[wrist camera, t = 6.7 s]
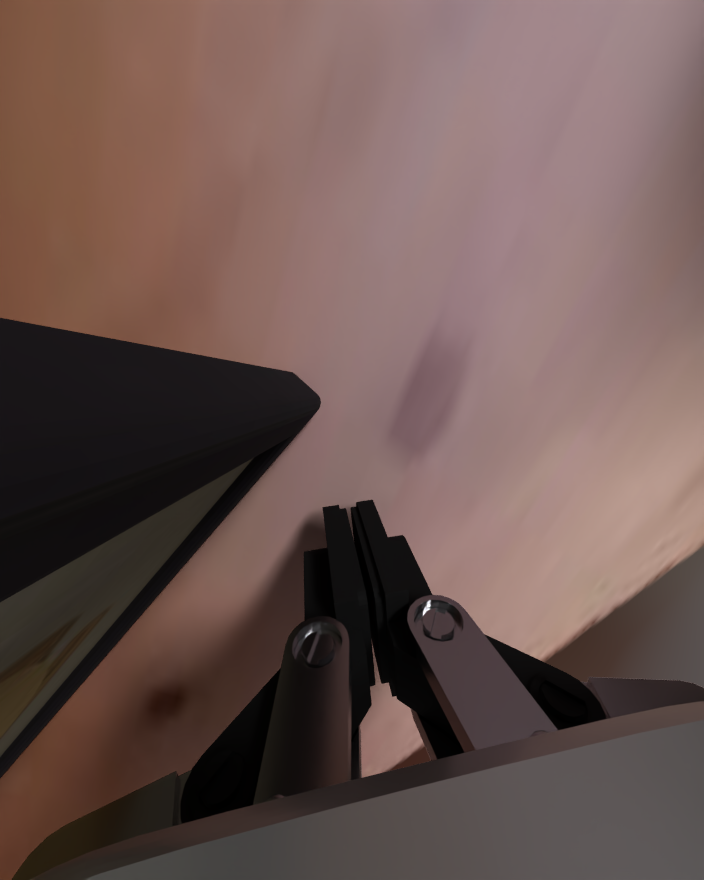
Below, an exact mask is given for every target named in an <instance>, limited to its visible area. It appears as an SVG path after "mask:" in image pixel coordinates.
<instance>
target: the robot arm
mask: <svg viewBox="0 0 704 880" xmlns="http://www.w3.org/2000/svg"><path fill="white" fill-rule="evenodd" d="M323 514H324V523H325V531H326V540H327V548H323V549H317V550H311V551H305V552H304V605H305V621H303V622H302V623H300V624H299V625H298V626H297V627H296V628H295V629H294V630H293V631H292V633H291V634H290V635H289V637H288V640H287V643H286V646H285V651H284V656H283V660H282V665H281V668H280V669H279V671H278V672H277V673H276V674H275V675H274V676H273V677H272V678H271V679H270V680H269V682H268V683H267V684H266V685H265V686H264V687H263V688H262V689H261V690H260V692H259V693H258V694H257V695H256V696H255V697H254V698H253V699H252V700H251V702H250V703H249V704H248V705H247V706H246V707H245V708H244V709H243V710H242V712H241V713H240V714H239V715H238V716H237V717H236V718H235V719H234V720H233V722H232V723H231V724H230V725H229V726H228V727H227V728H226V729H225V730H224V732H223V733H222V734H221V735H220V736H219V737H218V738H217V739H216V740H215V742H214V743H213V744H212V745H211V746H210V747H209V748H208V749H207V750H206V752H205V753H204V754H203V755H202V756H201V758H200V759H199V760H198V762H197V763H196V764H195V766H194V767H193V768H192V770H190V771H188V772H186V773H184V774H182V775H180V776H178V774H177V772H176V771H175V772H173V773H171V774H169V775H167V776H165V777H163V778H161V779H159V780H157V781H155V782H153V783H151V784H149V785H147V786H145V787H143V788H141V789H138V790H136V791H134V792H132V793H130V794H128V795H126V796H124V797H122V798H120V799H118V800H116V801H114V802H112V803H110V804H108V805H106V806H104V807H102V808H100V809H98V810H96V811H93V812H91V813H89V814H87V815H85V816H83V817H81V818H79V819H77V820H75V821H73V822H71V823H69V824H67V825H65V826H63V827H62V828H60V829H59V830H57V831H56V832H54V833H53V834H51V835H50V836H48V837H47V838H46V839H45V840H44V841H43V842H42V843H41V844H40V845H39V846H38V847H37V848H36V849H35V850H34V851H33V852H32V853H31V854H30V855H29V856H28V857H27V859H26V860H25V861H24V863H23V864H22V866H21V867H20V868H19V870H18V871H17V872H16V874H15V875H14V877H13V878H12V880H704V688H703V687H701V686H698V685H696V684H694V683H690V682H684V681H680V680H656V679H628V678H627V679H626V678H602V677H588V682H580V681H579V680H577V679H576V678H574V677H572V676H571V675H569V674H567V673H565V672H563V671H561V670H559V669H557V668H555V667H553V666H551V665H549V664H546V663H544V662H542V661H540V660H538V659H536V658H534V657H532V656H529V655H527V654H525V653H523V652H521V651H519V650H517V649H515V648H512V647H510V646H508V645H506V644H504V643H502V642H500V641H498V640H495V639H493V638H491V637H489V636H487V635H485V634H483V632H482V631H481V630H480V628H479V627H478V626H477V624H476V623H475V622H474V621H473V619H472V618H471V617H470V615H469V614H468V613H467V612H466V610H465V609H464V608H463V607H462V606H461V605H460V604H459V603H457V602H456V601H454V600H452V599H450V598H447V597H444V596H441V595H432V593H431V591H430V589H429V587H428V585H427V582H426V580H425V578H424V576H423V574H422V572H421V570H420V568H419V566H418V564H417V562H416V560H415V557H414V555H413V553H412V551H411V549H410V547H409V545H408V543H407V541H406V539H405V537H404V536H403V535H400V536H394V537H387V534H386V532H385V529H384V527H383V524H382V522H381V519H380V517H379V514H378V512H377V509H376V507H375V504H374V502H373V500H367V501H361V502H356V507H351V517H352V527H353V536H352V532H351V528H350V524H349V519H348V515H347V511H346V508H344V509H340V508H339V505H335V506H329V507H323ZM353 537H354V540H353ZM371 639H372V642H371ZM372 644H373V648H374V653H375V657H376V662H377V666H378V671H379V675H380V679H381V683H382V684H383V683H388V682H389V685H390V689H391V693H392V697H393V696H397V699H398V700H399V701H401V702H402V703H404V704H405V705H407V706H408V707H410V708H411V712H412V715H413V719H414V722H415V724H416V726H417V729H418V731H419V733H420V736H421V738H422V740H423V743H424V745H425V747H426V750H427V752H428V754H429V756H430V759H431V761H429V762H425V763H421V764H417V765H413V766H409V767H405V768H400V769H396V770H392V771H388V772H384V773H380V774H376V775H372V776H368V777H364V778H362V777H361V730H360V723H361V722H362V720H363V718H364V717H365V715H366V713H367V712H368V710H369V708H370V707H371V705H372V703H371V694H370V686H374V685H375V674H374V664H373V653H372Z"/></svg>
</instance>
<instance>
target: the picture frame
mask: <svg viewBox="0 0 704 880" xmlns="http://www.w3.org/2000/svg"><path fill="white" fill-rule="evenodd" d="M320 404H321V401H320V397H319V396H318V394H317V393H315V392H314V391H313V390H312V389H311V388H310V387H309V386H308V385H306V384H305V383H304V382H303V381H302V380H301V379H300V378H299V377H297V376H296V375H295V374H294V373H293V372H287V371H282V370H277V369H271V368H266V367H261V366H255V365H250V364H245V363H239V362H234V361H228V360H223V359H218V358H212V357H207V356H202V355H196V354H191V353H186V352H180V351H175V350H169V349H164V348H159V347H153V346H148V345H143V344H137V343H132V342H127V341H121V340H116V339H110V338H105V337H100V336H94V335H89V334H84V333H78V332H73V331H68V330H62V329H57V328H51V327H46V326H41V325H35V324H30V323H25V322H19V321H14V320H9V319H3V318H0V778H1V777H2V775H3V774H4V773H5V772H6V771H7V770H8V769H9V767H10V766H11V765H12V764H13V763H14V762H15V760H16V759H17V758H18V757H19V756H20V755H21V753H22V752H23V751H24V750H25V749H26V748H27V747H28V745H29V744H30V743H31V742H32V741H33V740H34V738H35V737H36V736H37V735H38V734H39V733H40V732H41V730H42V729H43V728H44V727H45V726H46V725H47V723H48V722H49V721H50V720H51V719H52V718H53V716H54V715H55V714H56V713H57V712H58V711H59V710H60V708H61V707H62V706H63V705H64V704H65V703H66V701H67V700H68V699H69V698H70V697H71V696H72V694H73V693H74V692H75V691H76V690H77V689H78V688H79V686H80V685H81V684H82V683H83V682H84V681H85V679H86V678H87V677H88V676H89V675H90V674H91V672H92V671H93V670H94V669H95V668H96V667H97V666H98V664H99V663H100V662H101V661H102V660H103V659H104V657H105V656H106V655H107V654H108V653H109V652H110V650H111V649H112V648H113V647H114V646H115V645H116V644H117V642H118V641H119V640H120V639H121V638H122V637H123V635H124V634H125V633H126V632H127V631H128V630H129V628H130V627H131V626H132V625H133V624H134V623H135V622H136V620H137V619H138V618H139V617H140V616H141V615H142V613H143V612H144V611H145V610H146V609H147V608H148V606H149V605H150V604H151V603H152V602H153V601H154V600H155V598H156V597H157V596H158V595H159V594H160V593H161V591H162V590H163V589H164V588H165V587H166V586H167V584H168V583H169V582H170V581H171V580H172V579H173V578H174V576H175V575H176V574H177V573H178V572H179V571H180V569H181V568H182V567H183V566H184V565H185V564H186V562H187V561H188V560H189V559H190V558H191V557H192V556H193V554H194V553H195V552H196V551H197V550H198V549H199V547H200V546H201V545H202V544H203V543H204V542H205V540H206V539H207V538H208V537H209V536H210V535H211V534H212V532H213V531H214V530H215V529H216V528H217V527H218V525H219V524H220V523H221V522H222V521H223V520H224V519H225V517H226V516H227V515H228V514H229V513H230V512H231V510H232V509H233V508H234V507H235V506H236V505H237V503H238V502H239V501H240V500H241V499H242V498H243V497H244V495H245V494H246V493H247V492H248V491H249V490H250V488H251V487H252V486H253V485H254V484H255V483H256V481H257V480H258V479H259V478H260V477H261V476H262V475H263V473H264V472H265V471H266V470H267V469H268V468H269V466H270V465H271V464H272V463H273V462H274V461H275V459H276V458H277V457H278V456H279V455H280V454H281V453H282V451H283V450H284V449H285V448H286V447H287V446H288V444H289V443H290V442H291V441H292V440H293V439H294V437H295V436H296V435H297V434H298V433H299V432H300V431H301V429H302V428H303V427H304V426H305V425H306V424H307V422H308V421H309V420H310V419H311V418H312V417H313V415H314V414H315V413H316V412H317V411H318V409H319V408H320Z"/></svg>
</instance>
